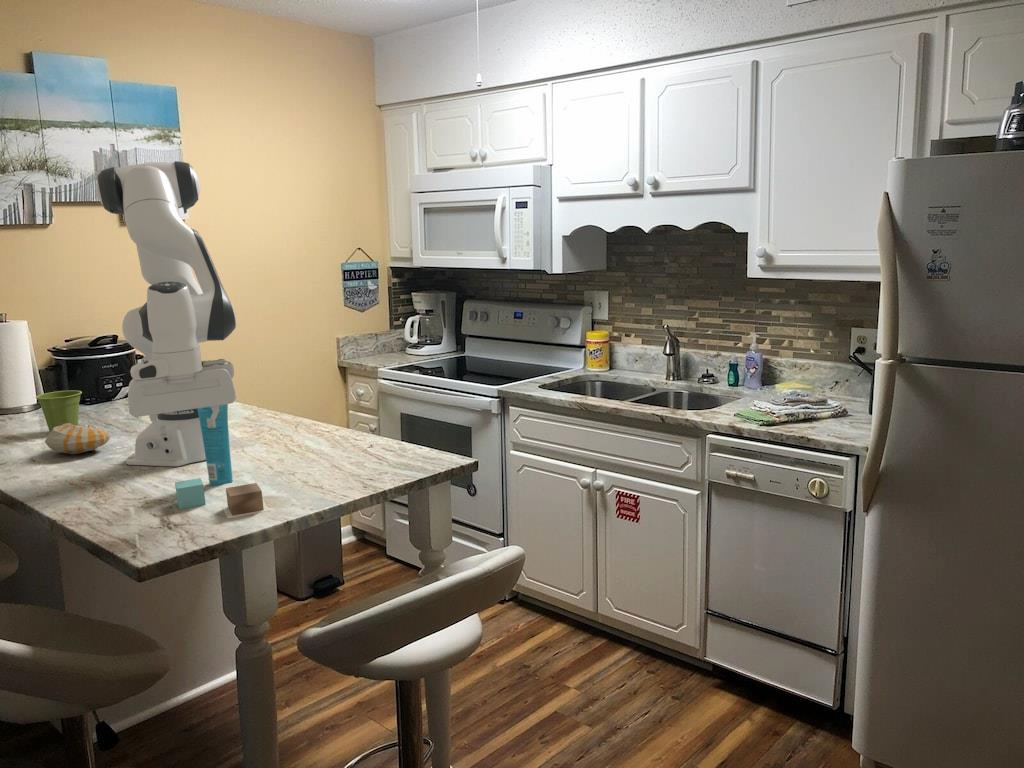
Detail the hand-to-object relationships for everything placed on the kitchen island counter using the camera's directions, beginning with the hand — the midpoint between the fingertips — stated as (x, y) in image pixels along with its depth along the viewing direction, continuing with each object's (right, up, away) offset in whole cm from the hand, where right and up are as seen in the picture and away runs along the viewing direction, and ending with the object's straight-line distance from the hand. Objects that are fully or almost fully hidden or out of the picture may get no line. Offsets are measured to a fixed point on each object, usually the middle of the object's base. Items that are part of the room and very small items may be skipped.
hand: (187, 431), depth 169 cm
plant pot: (-65, -5, +74) cm, 99 cm away
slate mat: (+13, -16, -2) cm, 20 cm away
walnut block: (+12, -15, -2) cm, 20 cm away
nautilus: (-49, -8, +52) cm, 72 cm away
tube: (+1, -13, +18) cm, 22 cm away
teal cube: (0, -16, +3) cm, 16 cm away
